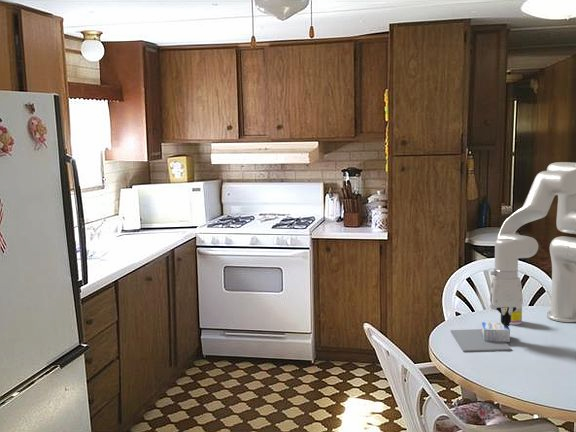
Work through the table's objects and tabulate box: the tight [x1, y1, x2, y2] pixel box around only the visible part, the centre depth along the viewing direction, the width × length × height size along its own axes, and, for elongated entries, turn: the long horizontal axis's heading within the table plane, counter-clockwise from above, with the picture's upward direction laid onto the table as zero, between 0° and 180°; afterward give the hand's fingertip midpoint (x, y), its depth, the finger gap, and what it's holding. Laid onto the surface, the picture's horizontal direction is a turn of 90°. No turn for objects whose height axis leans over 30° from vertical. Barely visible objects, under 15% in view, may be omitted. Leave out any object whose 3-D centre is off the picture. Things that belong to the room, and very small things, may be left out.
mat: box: [450, 328, 512, 353], centre depth 217 cm, size 20×16×1 cm
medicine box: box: [481, 321, 511, 343], centre depth 217 cm, size 8×4×9 cm
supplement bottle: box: [505, 307, 523, 326], centre depth 232 cm, size 7×7×13 cm
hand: (505, 324), depth 215 cm, fingers closed
